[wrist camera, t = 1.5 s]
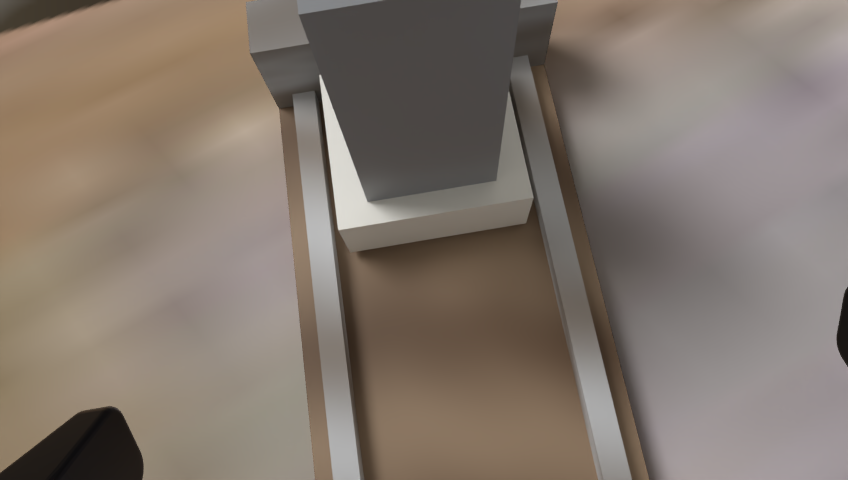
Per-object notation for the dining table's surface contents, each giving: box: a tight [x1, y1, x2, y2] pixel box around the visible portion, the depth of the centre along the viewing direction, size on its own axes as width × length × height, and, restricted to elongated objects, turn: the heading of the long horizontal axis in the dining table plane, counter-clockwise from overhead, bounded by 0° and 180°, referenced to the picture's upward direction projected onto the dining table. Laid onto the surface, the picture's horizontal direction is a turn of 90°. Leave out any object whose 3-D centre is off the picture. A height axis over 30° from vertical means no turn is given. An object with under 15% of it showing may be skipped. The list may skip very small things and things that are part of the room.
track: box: [246, 0, 649, 480], centre depth 20 cm, size 24×10×4 cm, turn 9°
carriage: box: [297, 0, 534, 253], centre depth 17 cm, size 6×6×11 cm
